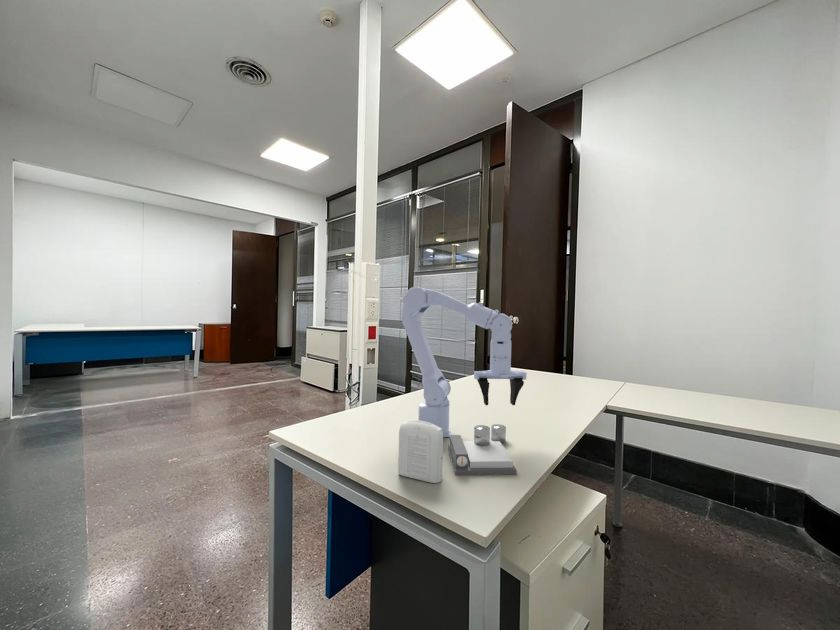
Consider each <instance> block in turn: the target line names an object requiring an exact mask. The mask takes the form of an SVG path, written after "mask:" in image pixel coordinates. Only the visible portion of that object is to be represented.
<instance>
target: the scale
mask: <svg viewBox="0 0 840 630" xmlns="http://www.w3.org/2000/svg"><path fill="white" fill-rule="evenodd" d="M447 446H448V447H447V448H448V449H447V450H448V453H449V456H450V459H451V463H452V467H453V470H454V474H455V475H456V476H457V475H461V476H462V475H463V476H464V475H469V476H470V475H471V476H472V475H473V476H474V475H475V476H476V475H517V471H518V470H517V468H516V467H515V465H514V461H513V459H512V457H511V455H509V452H508V451H507V450H506V448H505V446H504V445H503V443H502V444H501V442H500V441H491V440H490V444H489V445H488V446H478V445H476V444H475V443H474V440H473V441H472V440H471V441H469V440H467V441H463V438H462V436H461V434H452V435H450V437H449V445H447Z"/></svg>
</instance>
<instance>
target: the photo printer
mask: <svg viewBox="0 0 840 630" xmlns="http://www.w3.org/2000/svg"><path fill="white" fill-rule="evenodd" d="M443 454H444V437H443V430H442V428H440V427H438V426H436V425H434V424H432V423H429V422H425V421H418V419H417V420H406V421H403V422H402V423H401V424H400V426H399V432H398V458H397V460H398V462H397V463H398V465H397V466H398V467H397V468H398V469H397V473H398V475H400V476H403V477H407V478H411V479H415V480H419V481H421V482H422V481H423V482H427V483H432V484H438V483H440V482H442V480H443V462H444V461H443V457H444V455H443Z"/></svg>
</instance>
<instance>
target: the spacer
mask: <svg viewBox="0 0 840 630" xmlns="http://www.w3.org/2000/svg"><path fill="white" fill-rule="evenodd" d="M490 427H491V428H490V441H500V442H501V444H502V445H503V444H504V443H506V440H507V439H506V438H507V427H506V426H505V425H503V424H498V423H497V424H496V423H493V424H491V426H490Z"/></svg>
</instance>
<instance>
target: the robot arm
mask: <svg viewBox="0 0 840 630" xmlns="http://www.w3.org/2000/svg"><path fill="white" fill-rule="evenodd" d="M402 302H403V306H402V315H401V323H402V325H403V328H404V331H405V333H406V336H407V337H408V341H409V343H410V346H411V349H412V351H413V354H414V356H415V359H416V362H417V364H418V368H419V371H420V372H421V375H422V376H421V377H422V381H421V384H422V385H421V386H422V387H423V399H424V402H419V403H418V419H417V421H425V422H429V423H432V424H434V425H436V426H438V427H440V428H442V430H443V438H450V435H453V434H452V432H451V429H450V400H449V398H448V396H449V394H451V390H452V387H451V384H450V382H449V381H448V379H446V377H445V376H444V373H443V372H442V371H441V369H439V367H438V364H437V361H436V360H435V356H434V353H433V352H432V349H431V345H430V344H429V340H428V339H427V336H426V333H425V330H424V328H423V325H422V323H421V319H422V317H423V315H424V313H425V312H426V311H427V310H428V309H429V307H431V306H442V307H444V308H447V309H449V310H452V311H454V312H457V313H459V314H462V315H464V317H465V319H466V321H467V322H469V323H472V324H474V325H476V326H479V327H480V328H483V329H485V330H488V329H490V331H491V340H490V349H489V350H490V355H489V356H490V357H489V370H477V371H476V370H475V371H473V379H474V380H477V382H478V386H479V388H480V390H481V394H482V399H483V404H484V405H485V406H489V393H490V392H489V389H490V384H491V383H490V382H489V380H509V385H510V387H509V388H510V398H509V401H510V404H511V405H512V406H516V402H517V399H518V396H519V393H520V391H521V390H522V388H523V386H524V384H525V380H527V372H526V371H522V370H521V371H518V370H517V371H516V370H512V369H511V367H512V364H511V363H512V340H511V338H512V333H511V331H512V329H513V322H512V319H511V318H510V317H509V316H508V315H506V314H505V313H501V312H500V311H499V310H498V309H495V310H494V309H491V308H489V307H486V306H484V303H483V302H480V301H479V302H472V303H470V304H467V303H465V302H463V301H461V300H459V299H457V298H454V297H452V296H450V295H448V294H445V293H443V292H441V291H436V290H433V289H428V288H426V287H420V286H412V287H410V288H408V290H407V291H406V293H405V295H404V296H403V298H402ZM499 312H500V313H499Z"/></svg>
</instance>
